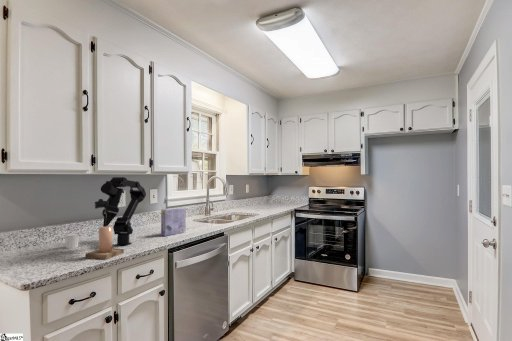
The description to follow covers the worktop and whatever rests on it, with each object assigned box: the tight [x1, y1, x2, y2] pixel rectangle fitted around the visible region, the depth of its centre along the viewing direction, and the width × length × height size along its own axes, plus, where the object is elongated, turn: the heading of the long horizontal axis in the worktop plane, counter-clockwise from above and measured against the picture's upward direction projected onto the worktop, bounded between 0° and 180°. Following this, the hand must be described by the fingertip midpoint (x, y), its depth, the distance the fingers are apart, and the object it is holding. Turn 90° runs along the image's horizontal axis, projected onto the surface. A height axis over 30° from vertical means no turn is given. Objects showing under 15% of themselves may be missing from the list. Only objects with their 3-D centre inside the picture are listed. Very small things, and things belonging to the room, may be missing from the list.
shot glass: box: [64, 233, 80, 249], centre depth 161 cm, size 7×7×7 cm
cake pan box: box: [160, 207, 187, 237], centre depth 199 cm, size 19×5×18 cm, turn 146°
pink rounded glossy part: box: [98, 225, 113, 253], centre depth 144 cm, size 6×6×12 cm
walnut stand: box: [85, 247, 125, 260], centre depth 144 cm, size 12×12×2 cm
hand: (105, 226), depth 153 cm, fingers open, 9 cm apart
